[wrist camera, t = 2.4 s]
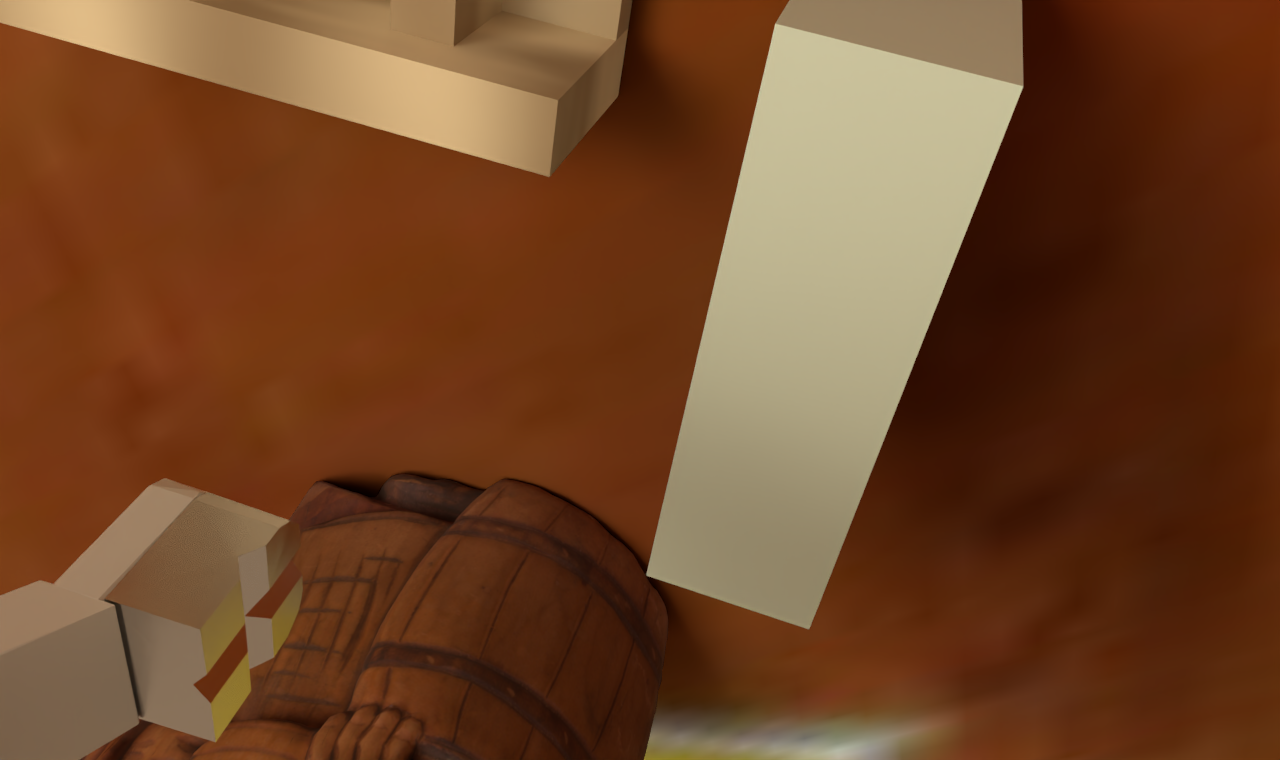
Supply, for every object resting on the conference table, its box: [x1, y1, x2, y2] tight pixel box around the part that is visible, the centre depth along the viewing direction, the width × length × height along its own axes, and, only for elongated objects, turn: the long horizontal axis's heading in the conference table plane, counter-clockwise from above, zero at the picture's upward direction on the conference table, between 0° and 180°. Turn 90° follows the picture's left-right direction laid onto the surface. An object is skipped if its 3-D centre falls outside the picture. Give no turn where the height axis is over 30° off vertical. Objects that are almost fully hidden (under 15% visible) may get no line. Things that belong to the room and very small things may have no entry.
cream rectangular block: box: [646, 0, 1023, 629], centre depth 18 cm, size 3×10×7 cm, turn 171°
